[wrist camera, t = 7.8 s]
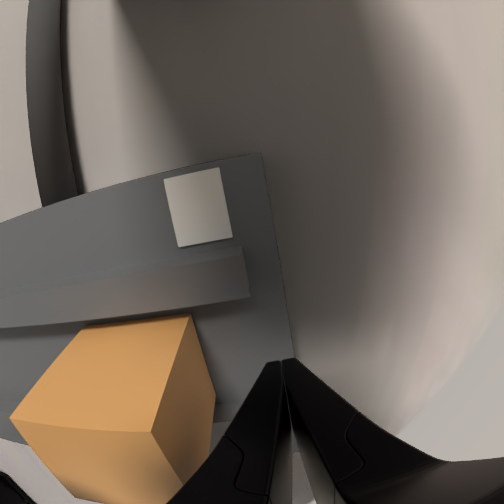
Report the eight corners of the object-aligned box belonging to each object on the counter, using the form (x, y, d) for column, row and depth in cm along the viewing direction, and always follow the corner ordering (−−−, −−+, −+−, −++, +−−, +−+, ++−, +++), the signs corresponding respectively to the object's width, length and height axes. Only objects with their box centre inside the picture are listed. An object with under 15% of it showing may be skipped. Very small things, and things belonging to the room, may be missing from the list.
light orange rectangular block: (215, 394, 11) (202, 512, 6) (118, 399, 11) (74, 497, 6) (190, 312, 10) (150, 432, 5) (84, 325, 10) (9, 417, 5)
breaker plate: (302, 427, 13) (309, 467, 11) (0, 422, 14) (-16, 443, 11) (258, 153, 10) (262, 150, 8) (-76, 257, 11) (-103, 270, 8)
